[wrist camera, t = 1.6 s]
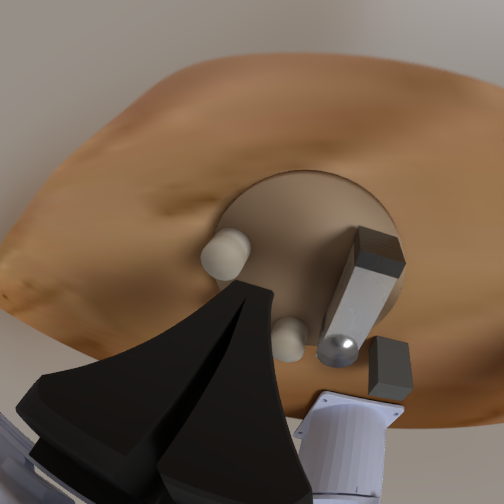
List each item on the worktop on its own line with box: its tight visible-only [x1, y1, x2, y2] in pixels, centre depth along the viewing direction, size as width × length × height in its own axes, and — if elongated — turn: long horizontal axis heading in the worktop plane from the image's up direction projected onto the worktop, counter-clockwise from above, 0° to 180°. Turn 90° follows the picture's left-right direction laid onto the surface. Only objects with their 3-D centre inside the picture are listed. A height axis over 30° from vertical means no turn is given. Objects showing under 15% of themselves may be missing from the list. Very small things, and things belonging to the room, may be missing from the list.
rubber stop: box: [368, 336, 413, 401], centre depth 17 cm, size 1×2×4 cm, turn 81°
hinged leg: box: [316, 225, 406, 368], centre depth 14 cm, size 7×2×3 cm, turn 170°
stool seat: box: [201, 170, 405, 362], centre depth 16 cm, size 11×11×3 cm
